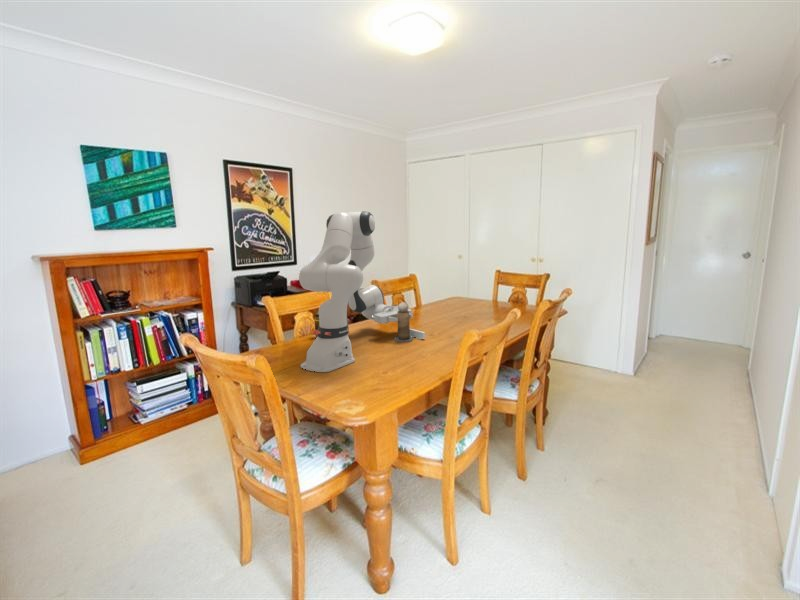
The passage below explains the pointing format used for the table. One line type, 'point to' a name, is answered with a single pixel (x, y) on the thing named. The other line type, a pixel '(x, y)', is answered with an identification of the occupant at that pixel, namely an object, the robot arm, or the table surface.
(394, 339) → the mat
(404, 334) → the peg
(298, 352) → the table surface
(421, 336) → the acrylic wall
